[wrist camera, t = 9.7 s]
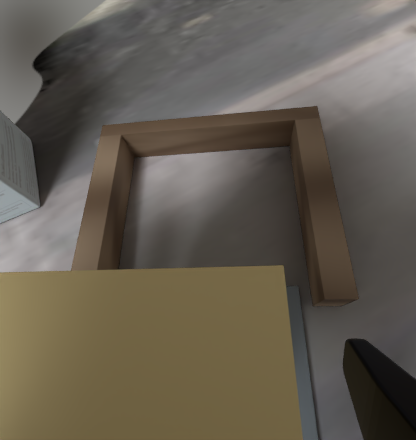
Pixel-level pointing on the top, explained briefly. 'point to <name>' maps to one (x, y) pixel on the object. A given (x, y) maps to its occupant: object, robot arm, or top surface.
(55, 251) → the top surface
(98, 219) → the frame
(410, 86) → the top surface
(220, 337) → the ochre block
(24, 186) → the supplement box
